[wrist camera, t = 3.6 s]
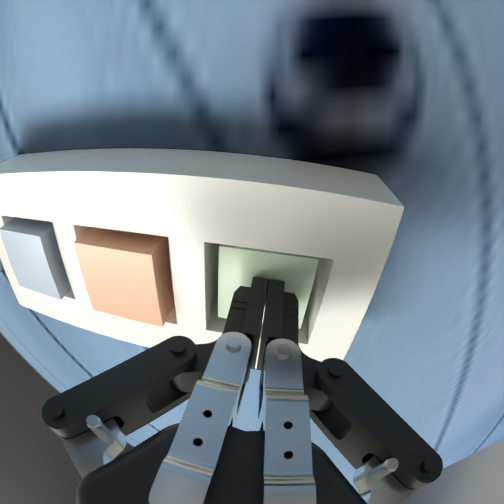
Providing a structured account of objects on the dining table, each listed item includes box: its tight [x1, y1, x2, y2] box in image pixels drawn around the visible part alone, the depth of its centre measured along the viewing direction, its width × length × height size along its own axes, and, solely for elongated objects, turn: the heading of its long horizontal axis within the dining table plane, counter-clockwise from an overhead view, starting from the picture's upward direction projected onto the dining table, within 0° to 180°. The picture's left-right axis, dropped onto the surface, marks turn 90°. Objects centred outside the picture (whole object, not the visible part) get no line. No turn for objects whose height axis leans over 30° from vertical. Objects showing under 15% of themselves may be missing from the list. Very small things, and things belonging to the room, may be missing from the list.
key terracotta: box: [73, 227, 175, 327], centre depth 14 cm, size 4×4×2 cm
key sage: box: [218, 244, 319, 329], centre depth 15 cm, size 4×4×2 cm
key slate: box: [0, 217, 71, 300], centre depth 14 cm, size 4×4×2 cm
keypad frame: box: [0, 148, 404, 368], centre depth 15 cm, size 24×11×4 cm, turn 85°
